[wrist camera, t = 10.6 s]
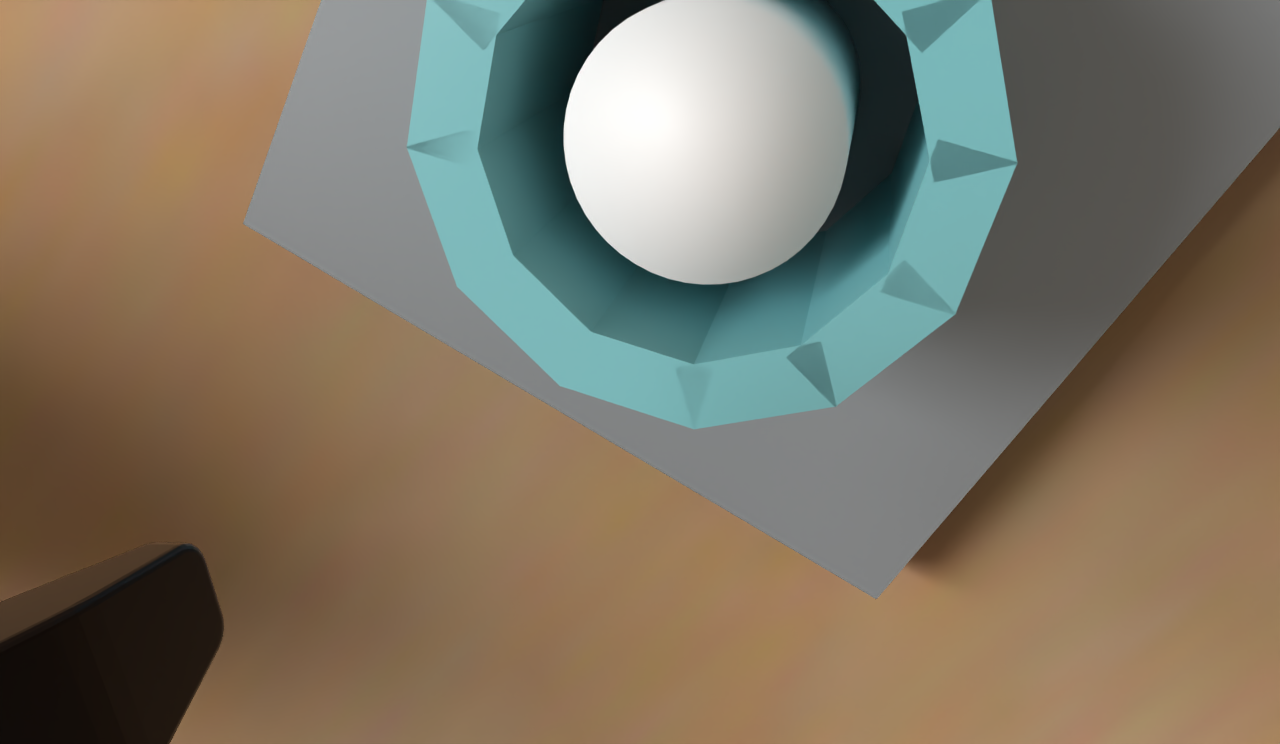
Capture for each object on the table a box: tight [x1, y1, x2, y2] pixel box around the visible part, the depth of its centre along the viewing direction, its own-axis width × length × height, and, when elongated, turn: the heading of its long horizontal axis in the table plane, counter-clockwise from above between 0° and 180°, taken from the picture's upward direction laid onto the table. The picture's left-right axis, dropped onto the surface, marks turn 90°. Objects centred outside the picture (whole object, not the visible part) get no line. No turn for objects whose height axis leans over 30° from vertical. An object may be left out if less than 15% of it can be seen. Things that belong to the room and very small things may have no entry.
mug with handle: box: [406, 0, 1018, 429], centre depth 14 cm, size 8×7×5 cm
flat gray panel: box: [243, 0, 1280, 599], centre depth 15 cm, size 14×14×6 cm
